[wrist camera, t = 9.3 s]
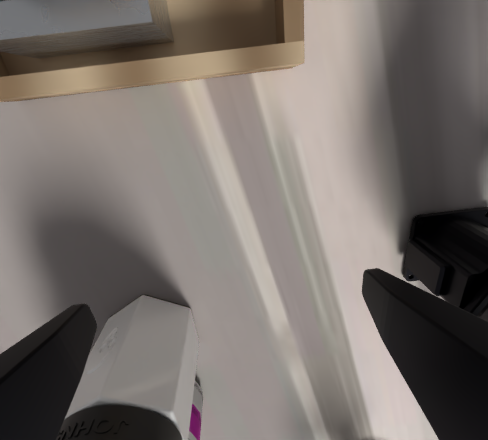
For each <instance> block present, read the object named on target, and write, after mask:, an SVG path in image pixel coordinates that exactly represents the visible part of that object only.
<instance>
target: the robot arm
mask: <svg viewBox="0 0 488 440" xmlns="http://www.w3.org/2000/svg"><path fill="white" fill-rule="evenodd" d="M420 220H421V222H420V223H419V221H420ZM403 277H404V278H405V279H406V280H407V281H417V280H420V281H421V282H422V283H423V284H424V285H425V286H426V287H427V288H428V289H429V290H430V291H431V292H432V293H433V294H435V295H436V296H441V297H442V298H443V299H444V300H445V301H444V300H442V299H440V298H438V297H436V296H434V295H432V294H430V293H428V292H426V291H424V290H422V289H420V288H418V287H416V286H414V285H411V284H409V283H407V282H405V281H403V280H401V279H399V278H397V277H395V276H393V275H391V274H389V273H387V272H385V271H383V270H381V269H378V268H375V269H367V270H365V271H364V274H363V285H362V294H363V297H364V300H365V302H366V304H367V307H368V309H369V311H370V313H371V316H372V318H373V320H374V323H375V325H376V327H377V329H378V332H379V334H380V336H381V338H382V340H383V342H384V344H385V346H386V348H387V349H388V351H389V353H390V355H391V356H392V358H393V360H394V362H395V363H396V365H397V367H398V369H399V370H400V372H401V374H402V376H403V377H404V379H405V381H406V383H407V384H408V386H409V388H410V390H411V391H412V393H413V395H414V397H415V398H416V400H417V402H418V404H419V405H420V407H421V409H422V411H423V412H424V414H425V416H426V418H427V419H428V421H429V423H430V425H431V426H432V428H433V430H434V432H435V433H436V435H437V437H438V439H439V440H488V207H482V208H473V209H465V210H457V211H448V212H440V213H432V214H423V215H418V216H416V217H415V218H414V219H413V221H412V227H411V233H410V238H409V242H408V247H407V253H406V258H405V267H404V273H403ZM96 328H97V324H96V321H95V318H94V316H93V314H92V312H91V310H90V307H89V306H88V305H87V304H77V305H73V306H71V307H69V308H68V309H66V310H65V311H63V312H62V313H60V314H59V315H57V316H56V317H54V318H53V319H51V320H50V321H49V322H47V323H46V324H44V325H43V326H41V327H40V328H38V329H37V330H35V331H34V332H32V333H31V334H29V335H28V336H26V337H25V338H23V339H22V340H20V341H19V342H18V343H16V344H15V345H13V346H12V347H10V348H9V349H7V350H6V351H4V352H3V353H1V354H0V440H56V439H57V436H58V434H59V432H60V429H61V427H62V424H63V422H64V419H65V417H66V415H67V412H68V410H69V407H70V405H71V402H72V400H73V398H74V395H75V393H76V390H77V388H78V385H79V383H80V380H81V378H82V375H83V372H84V369H85V365H86V362H87V359H88V356H89V352H90V349H91V346H92V342H93V339H94V336H95V332H96Z"/></svg>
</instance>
